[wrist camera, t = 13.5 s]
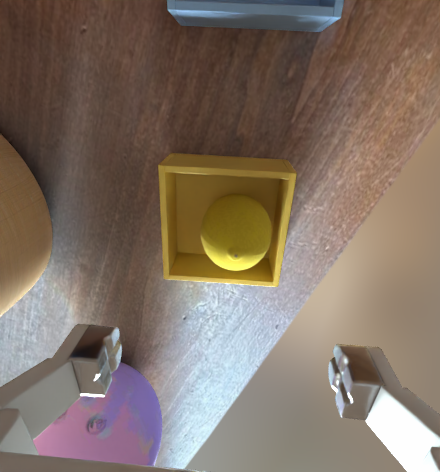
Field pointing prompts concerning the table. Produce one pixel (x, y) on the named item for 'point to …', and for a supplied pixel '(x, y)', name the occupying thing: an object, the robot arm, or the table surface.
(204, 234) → the lemon
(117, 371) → the decorative ball
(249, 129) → the table surface
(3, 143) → the planter
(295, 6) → the blue bin
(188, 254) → the yellow bin
